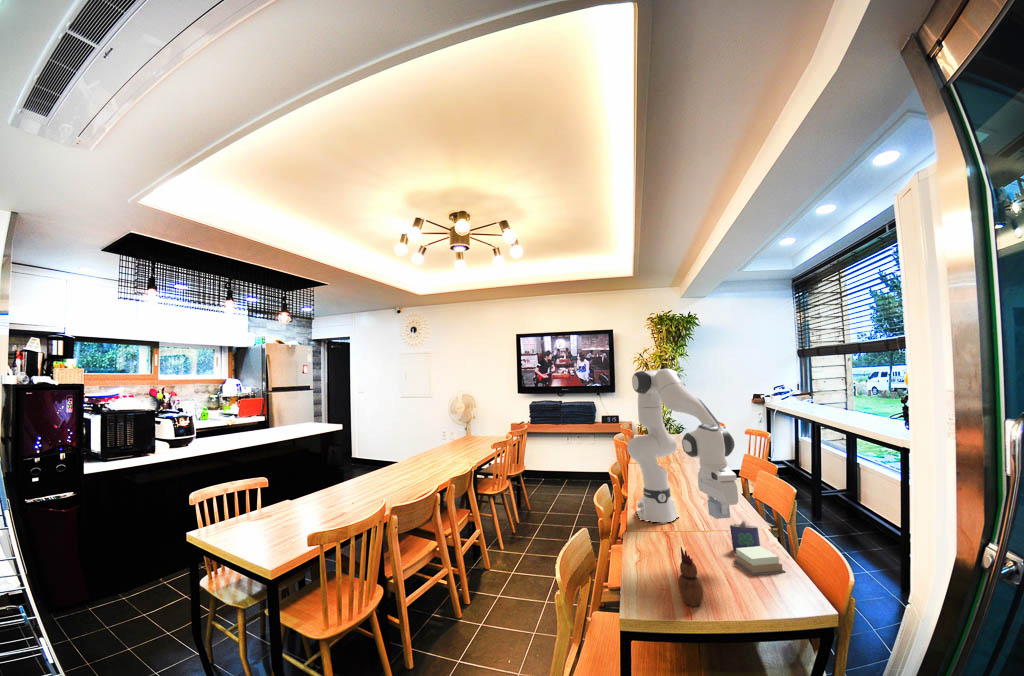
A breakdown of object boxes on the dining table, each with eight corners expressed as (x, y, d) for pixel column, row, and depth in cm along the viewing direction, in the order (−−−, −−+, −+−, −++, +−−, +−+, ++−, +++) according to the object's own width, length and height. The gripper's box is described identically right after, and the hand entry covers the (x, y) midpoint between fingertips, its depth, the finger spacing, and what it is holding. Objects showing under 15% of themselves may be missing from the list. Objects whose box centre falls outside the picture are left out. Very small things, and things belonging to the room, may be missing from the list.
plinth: (735, 560, 142) (733, 547, 142) (762, 557, 142) (761, 545, 143) (753, 573, 132) (751, 559, 132) (782, 570, 132) (780, 556, 133)
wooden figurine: (677, 598, 121) (671, 545, 122) (695, 596, 121) (689, 543, 123) (688, 610, 114) (682, 554, 116) (708, 608, 114) (701, 552, 116)
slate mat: (733, 561, 142) (733, 559, 142) (763, 558, 143) (763, 557, 143) (753, 575, 131) (752, 574, 131) (785, 572, 132) (785, 571, 132)
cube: (709, 514, 145) (707, 499, 145) (722, 513, 145) (720, 498, 146) (716, 518, 140) (714, 503, 141) (730, 517, 140) (728, 502, 141)
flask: (760, 550, 149) (756, 520, 150) (762, 553, 146) (757, 523, 148) (732, 548, 152) (728, 519, 154) (733, 551, 150) (729, 521, 151)
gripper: (691, 465, 155) (695, 503, 153) (721, 477, 134) (726, 520, 133) (707, 464, 155) (711, 501, 153) (739, 476, 135) (744, 519, 133)
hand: (718, 510), depth 143 cm, fingers closed on cube, 5 cm apart
